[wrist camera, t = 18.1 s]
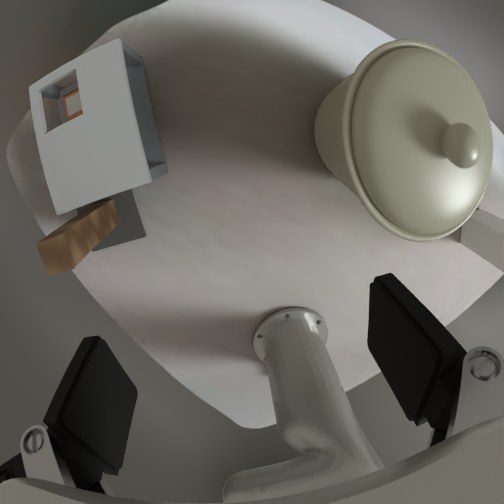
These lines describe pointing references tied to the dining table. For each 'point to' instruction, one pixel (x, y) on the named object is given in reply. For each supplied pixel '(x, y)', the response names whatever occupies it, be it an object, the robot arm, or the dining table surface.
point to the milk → (485, 237)
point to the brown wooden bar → (77, 237)
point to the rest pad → (128, 218)
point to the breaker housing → (98, 128)
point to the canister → (409, 139)
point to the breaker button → (72, 105)
